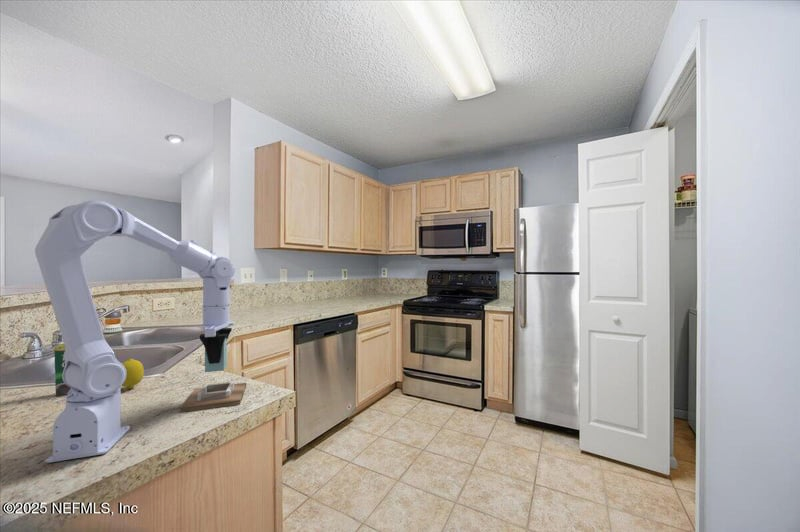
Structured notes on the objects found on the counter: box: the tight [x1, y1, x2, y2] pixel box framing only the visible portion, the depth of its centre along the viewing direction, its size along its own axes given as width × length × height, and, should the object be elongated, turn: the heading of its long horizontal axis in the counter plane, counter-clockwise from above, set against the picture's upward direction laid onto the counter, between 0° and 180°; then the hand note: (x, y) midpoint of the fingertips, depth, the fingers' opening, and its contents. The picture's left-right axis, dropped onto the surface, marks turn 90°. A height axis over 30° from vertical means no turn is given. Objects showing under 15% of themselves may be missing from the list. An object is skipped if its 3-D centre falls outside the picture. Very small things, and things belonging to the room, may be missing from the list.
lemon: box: [121, 358, 145, 390], centre depth 84 cm, size 6×6×8 cm
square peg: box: [204, 338, 228, 373], centre depth 78 cm, size 4×4×7 cm
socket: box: [179, 381, 247, 413], centre depth 78 cm, size 12×12×2 cm
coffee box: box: [53, 342, 71, 397], centre depth 82 cm, size 8×3×13 cm, turn 120°
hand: (216, 360), depth 78 cm, fingers closed on square peg, 4 cm apart
